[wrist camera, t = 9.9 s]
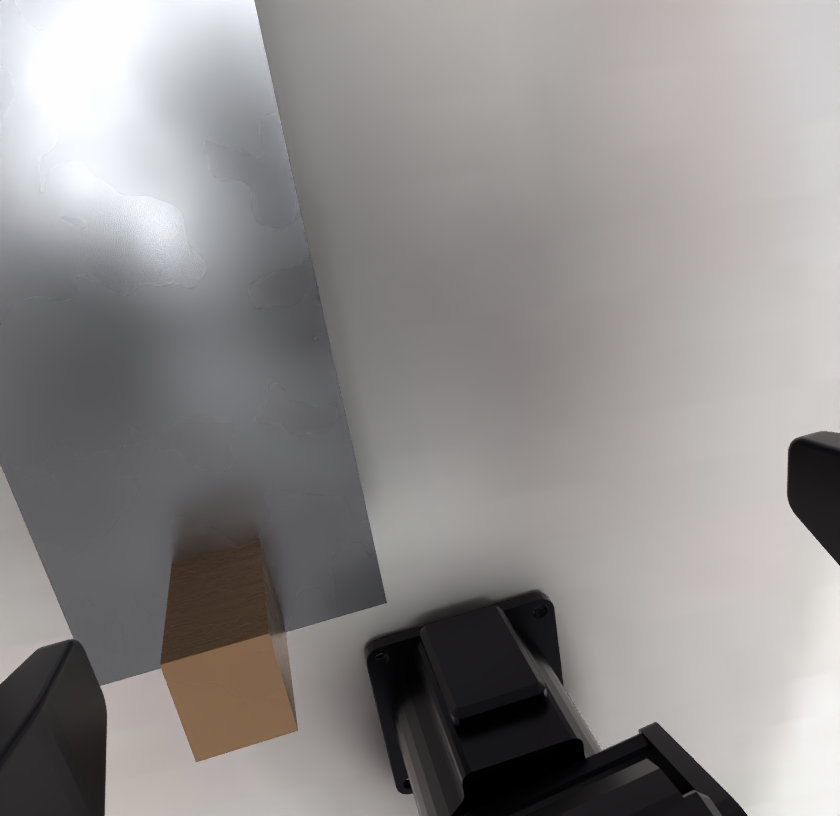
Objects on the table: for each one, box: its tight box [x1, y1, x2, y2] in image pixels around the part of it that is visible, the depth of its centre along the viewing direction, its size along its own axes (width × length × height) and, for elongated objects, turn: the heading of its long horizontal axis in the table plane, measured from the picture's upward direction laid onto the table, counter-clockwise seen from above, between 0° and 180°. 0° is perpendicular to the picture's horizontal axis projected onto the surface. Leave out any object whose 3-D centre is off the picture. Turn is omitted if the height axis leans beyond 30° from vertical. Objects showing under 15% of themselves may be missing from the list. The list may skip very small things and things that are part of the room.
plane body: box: [0, 0, 387, 762], centre depth 15 cm, size 22×7×8 cm, turn 10°
